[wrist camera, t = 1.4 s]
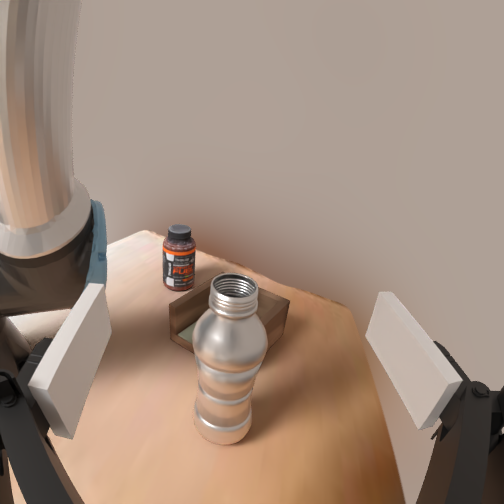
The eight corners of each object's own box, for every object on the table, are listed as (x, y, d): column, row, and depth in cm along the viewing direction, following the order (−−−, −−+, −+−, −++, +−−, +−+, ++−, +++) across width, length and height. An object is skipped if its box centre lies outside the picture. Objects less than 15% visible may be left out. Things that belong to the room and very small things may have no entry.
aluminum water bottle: (230, 399, 37) (246, 257, 28) (260, 438, 32) (295, 298, 23) (183, 416, 34) (177, 271, 25) (211, 460, 29) (217, 321, 20)
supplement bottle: (173, 296, 56) (172, 237, 51) (157, 280, 59) (156, 225, 54) (200, 286, 60) (202, 230, 55) (183, 272, 63) (184, 219, 58)
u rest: (170, 339, 46) (169, 304, 43) (220, 303, 55) (222, 271, 52) (239, 379, 40) (243, 345, 37) (282, 333, 50) (290, 300, 47)
